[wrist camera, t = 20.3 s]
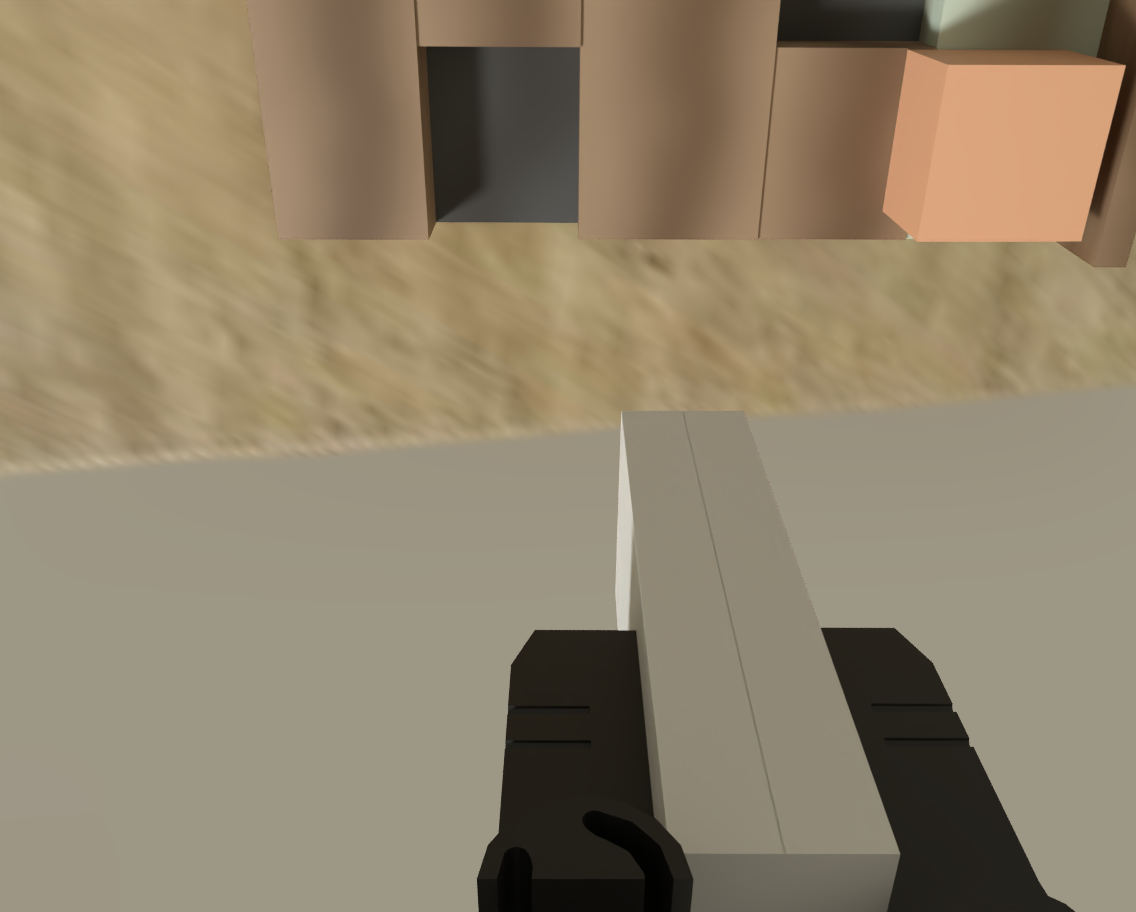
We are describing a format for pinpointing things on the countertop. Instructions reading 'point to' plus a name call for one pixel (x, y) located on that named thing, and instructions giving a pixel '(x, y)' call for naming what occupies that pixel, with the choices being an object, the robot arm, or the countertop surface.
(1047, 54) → the block
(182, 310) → the countertop surface
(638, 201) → the board
